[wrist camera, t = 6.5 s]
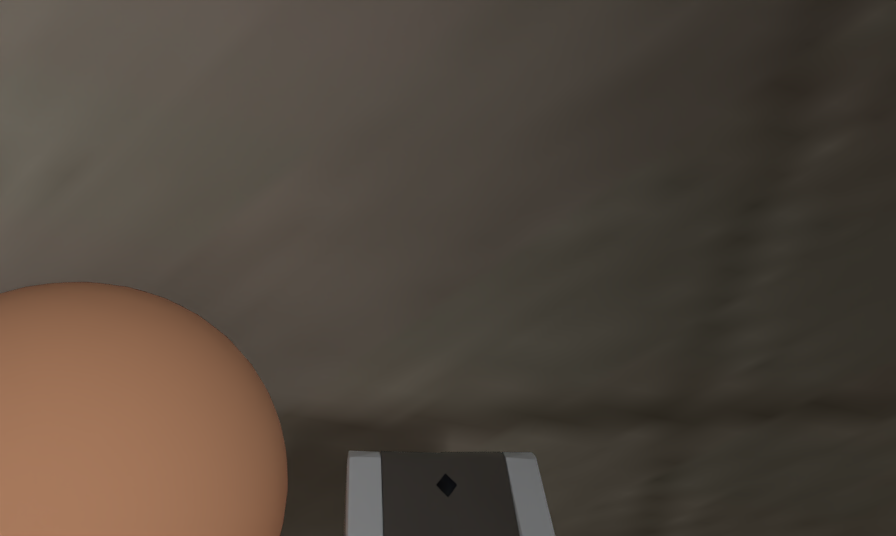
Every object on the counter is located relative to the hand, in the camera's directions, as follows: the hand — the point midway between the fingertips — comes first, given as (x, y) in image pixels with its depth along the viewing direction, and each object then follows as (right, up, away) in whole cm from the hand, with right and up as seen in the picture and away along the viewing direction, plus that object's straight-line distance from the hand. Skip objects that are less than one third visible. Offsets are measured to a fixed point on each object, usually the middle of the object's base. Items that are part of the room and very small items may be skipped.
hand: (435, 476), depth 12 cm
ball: (-5, 0, -1) cm, 5 cm away
